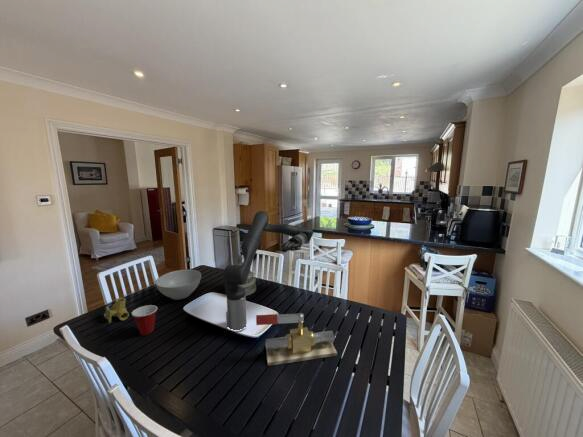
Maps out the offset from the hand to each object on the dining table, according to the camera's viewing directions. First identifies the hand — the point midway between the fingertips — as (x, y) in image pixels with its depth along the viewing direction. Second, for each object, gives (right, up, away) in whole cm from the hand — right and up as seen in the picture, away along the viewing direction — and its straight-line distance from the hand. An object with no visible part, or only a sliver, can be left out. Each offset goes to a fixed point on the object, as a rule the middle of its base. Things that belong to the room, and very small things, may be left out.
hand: (283, 250), depth 122 cm
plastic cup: (-68, -40, -6) cm, 79 cm away
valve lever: (-1, -28, -22) cm, 36 cm away
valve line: (+8, -41, -19) cm, 45 cm away
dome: (-30, -32, +36) cm, 57 cm away
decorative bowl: (-68, -33, +30) cm, 82 cm away
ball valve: (-92, -38, +6) cm, 100 cm away
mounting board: (+8, -42, -18) cm, 47 cm away
